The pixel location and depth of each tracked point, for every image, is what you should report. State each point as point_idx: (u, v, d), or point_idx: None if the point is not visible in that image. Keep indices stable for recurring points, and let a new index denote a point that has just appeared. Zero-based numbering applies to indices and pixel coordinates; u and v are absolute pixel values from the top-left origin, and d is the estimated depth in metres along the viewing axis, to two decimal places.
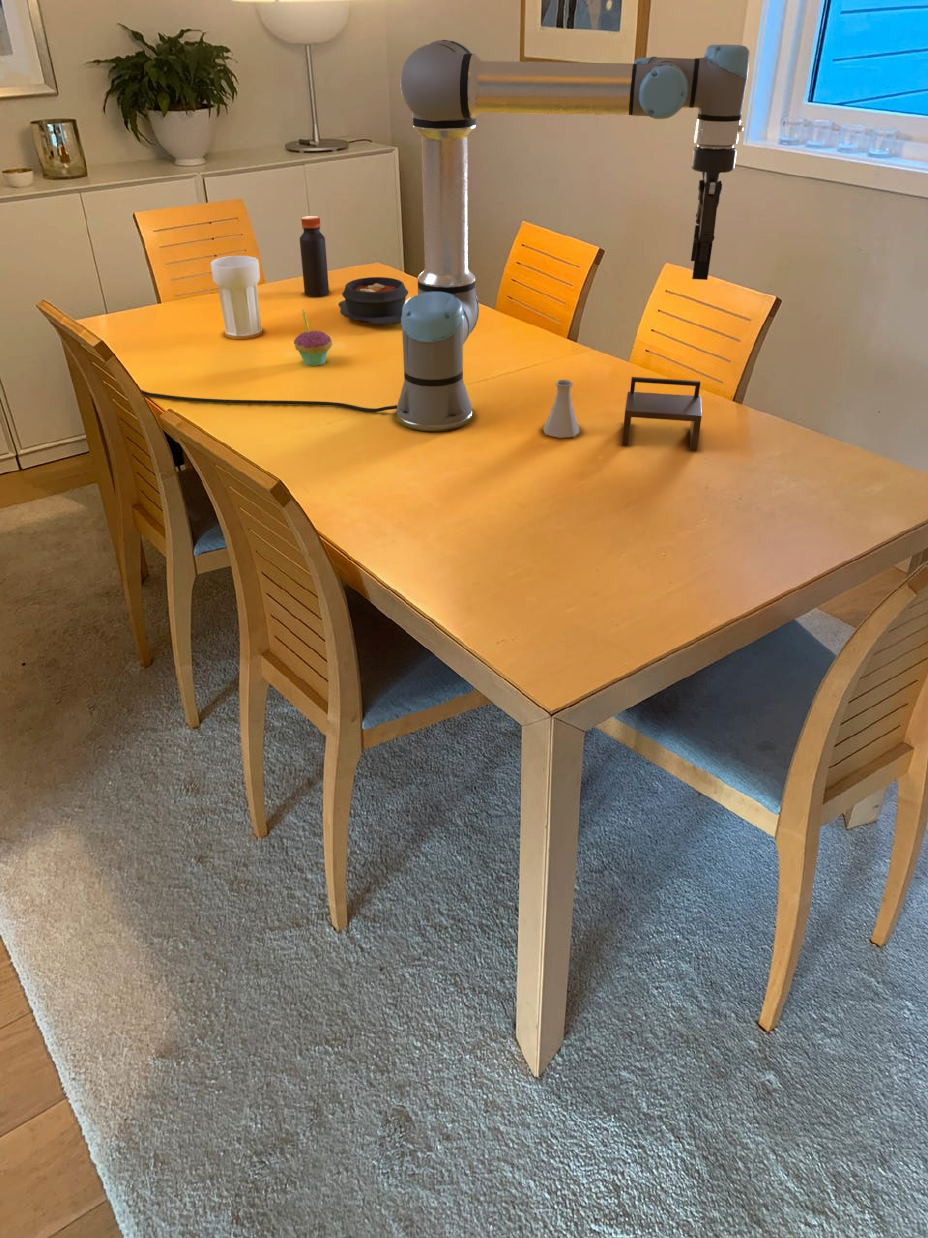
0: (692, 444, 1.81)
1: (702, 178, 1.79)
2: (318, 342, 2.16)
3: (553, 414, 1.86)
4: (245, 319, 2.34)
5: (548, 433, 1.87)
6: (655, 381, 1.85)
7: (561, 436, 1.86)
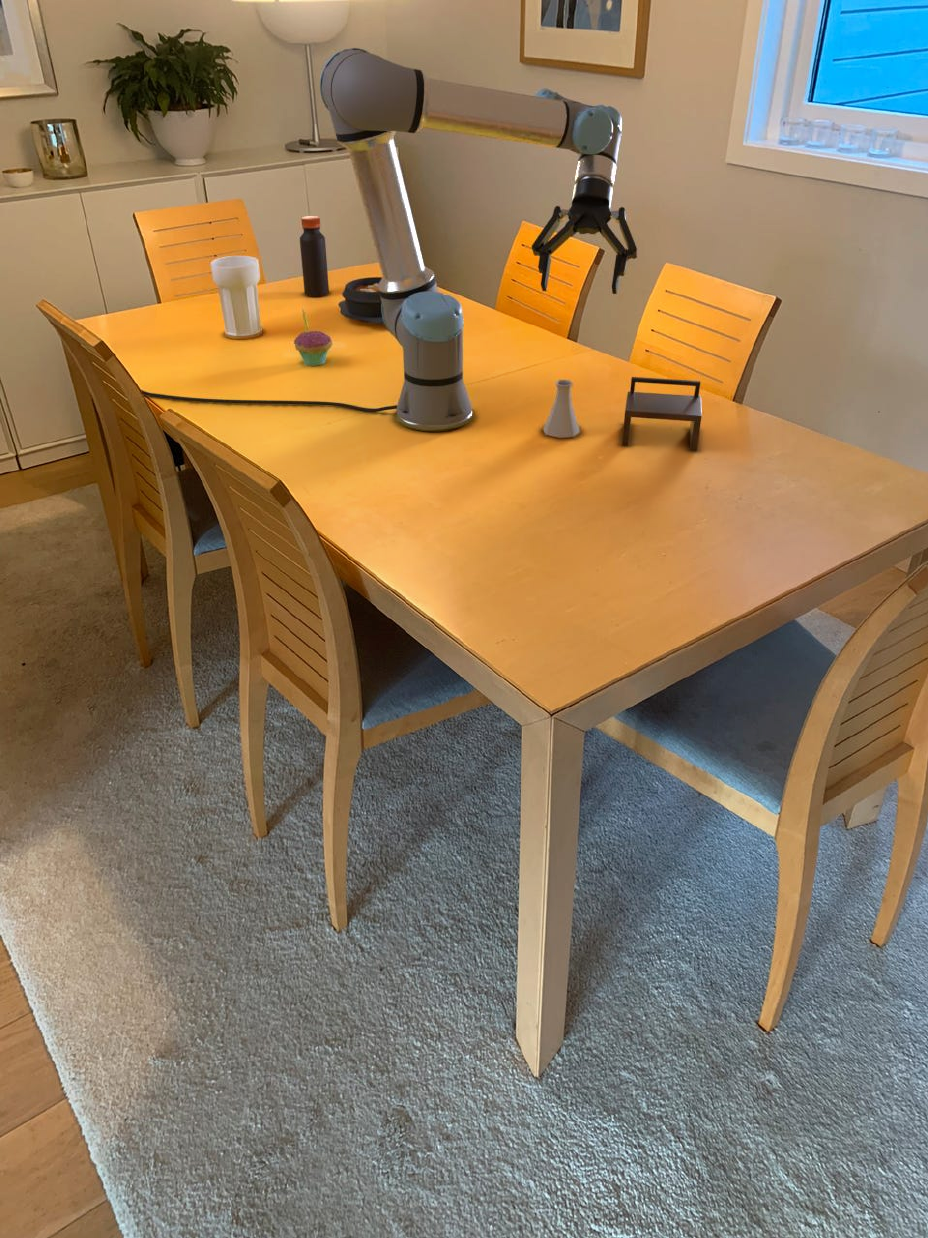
0: (692, 444, 1.81)
1: (556, 212, 1.86)
2: (318, 342, 2.16)
3: (553, 414, 1.86)
4: (245, 319, 2.34)
5: (548, 433, 1.87)
6: (655, 381, 1.85)
7: (561, 436, 1.86)
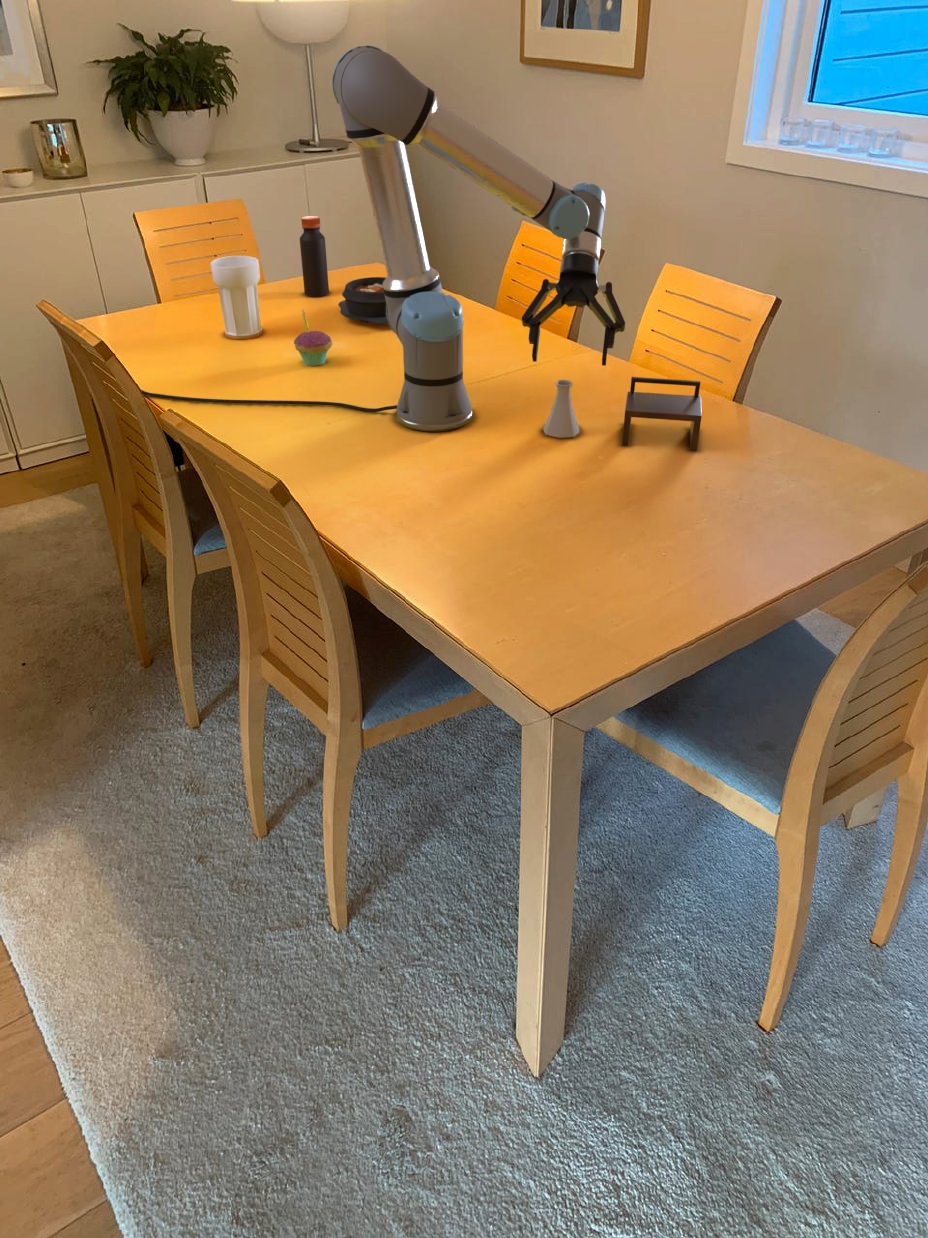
0: (692, 444, 1.81)
1: (545, 285, 1.90)
2: (318, 342, 2.16)
3: (553, 414, 1.86)
4: (245, 319, 2.34)
5: (548, 433, 1.87)
6: (655, 381, 1.85)
7: (561, 436, 1.86)
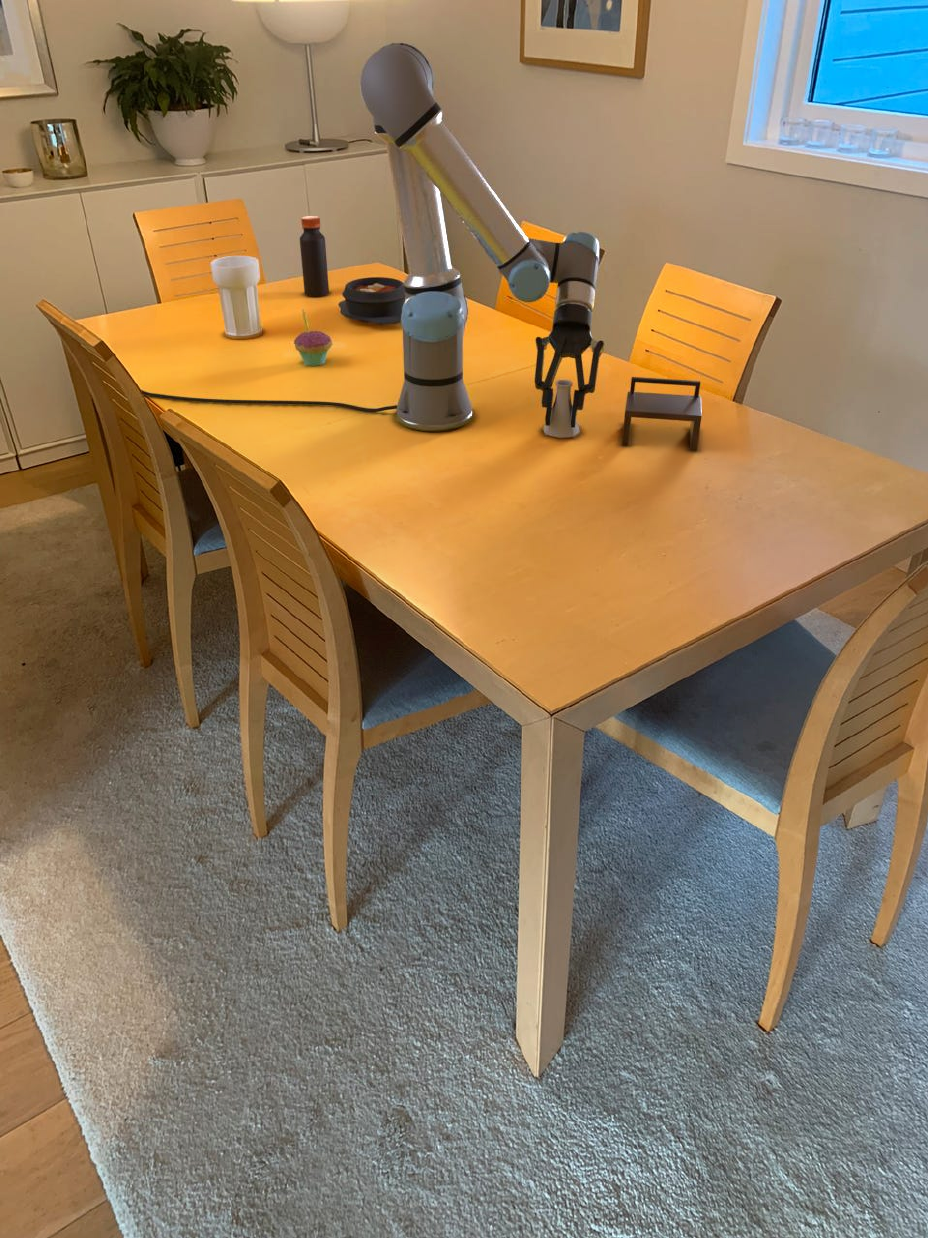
0: (692, 444, 1.81)
1: (540, 343, 1.87)
2: (318, 342, 2.16)
3: (553, 414, 1.86)
4: (245, 319, 2.34)
5: (548, 433, 1.87)
6: (655, 381, 1.85)
7: (561, 436, 1.86)
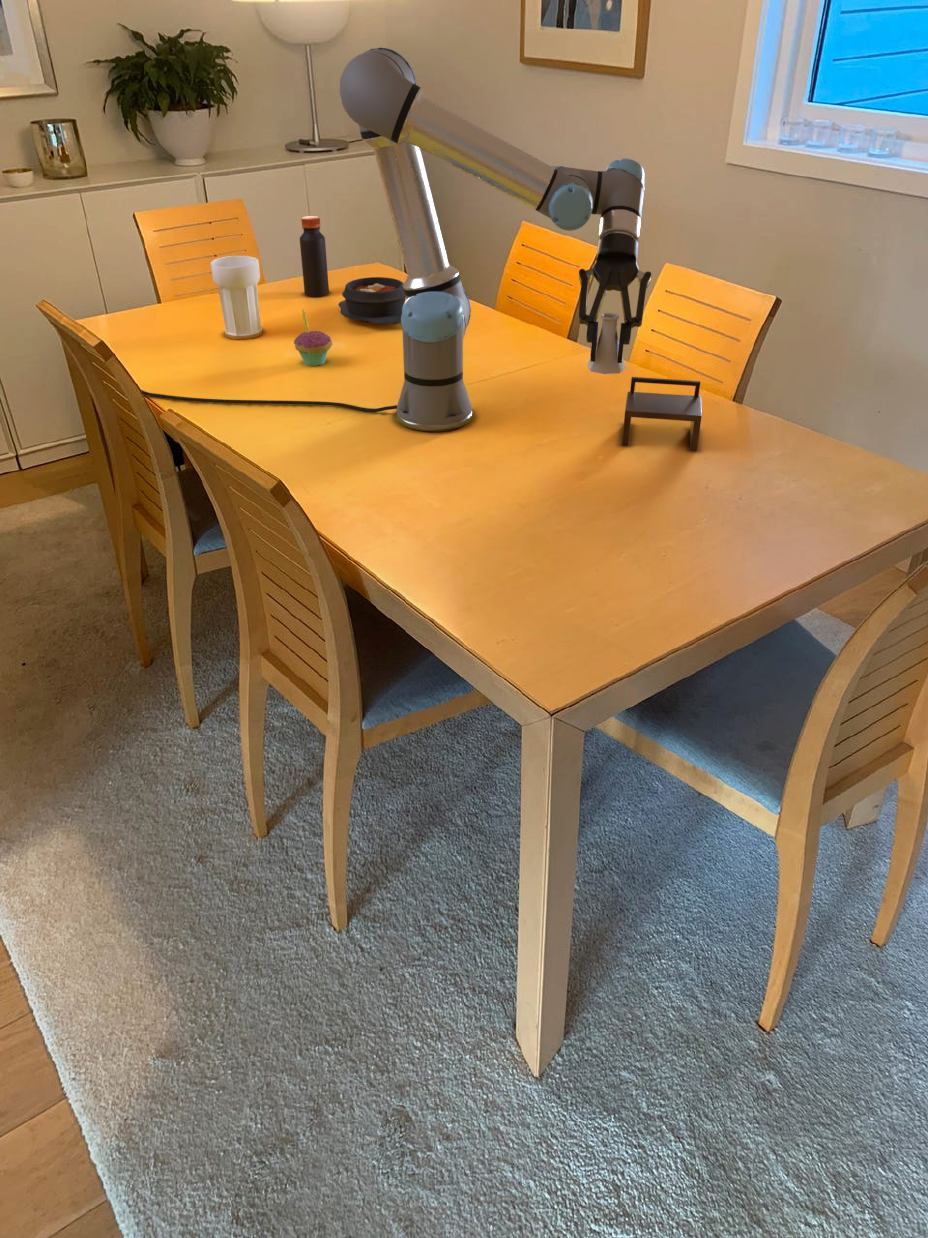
0: (692, 444, 1.81)
1: (584, 275, 1.78)
2: (318, 342, 2.16)
3: (598, 349, 1.77)
4: (245, 319, 2.34)
5: (593, 370, 1.78)
6: (655, 381, 1.85)
7: (607, 372, 1.77)
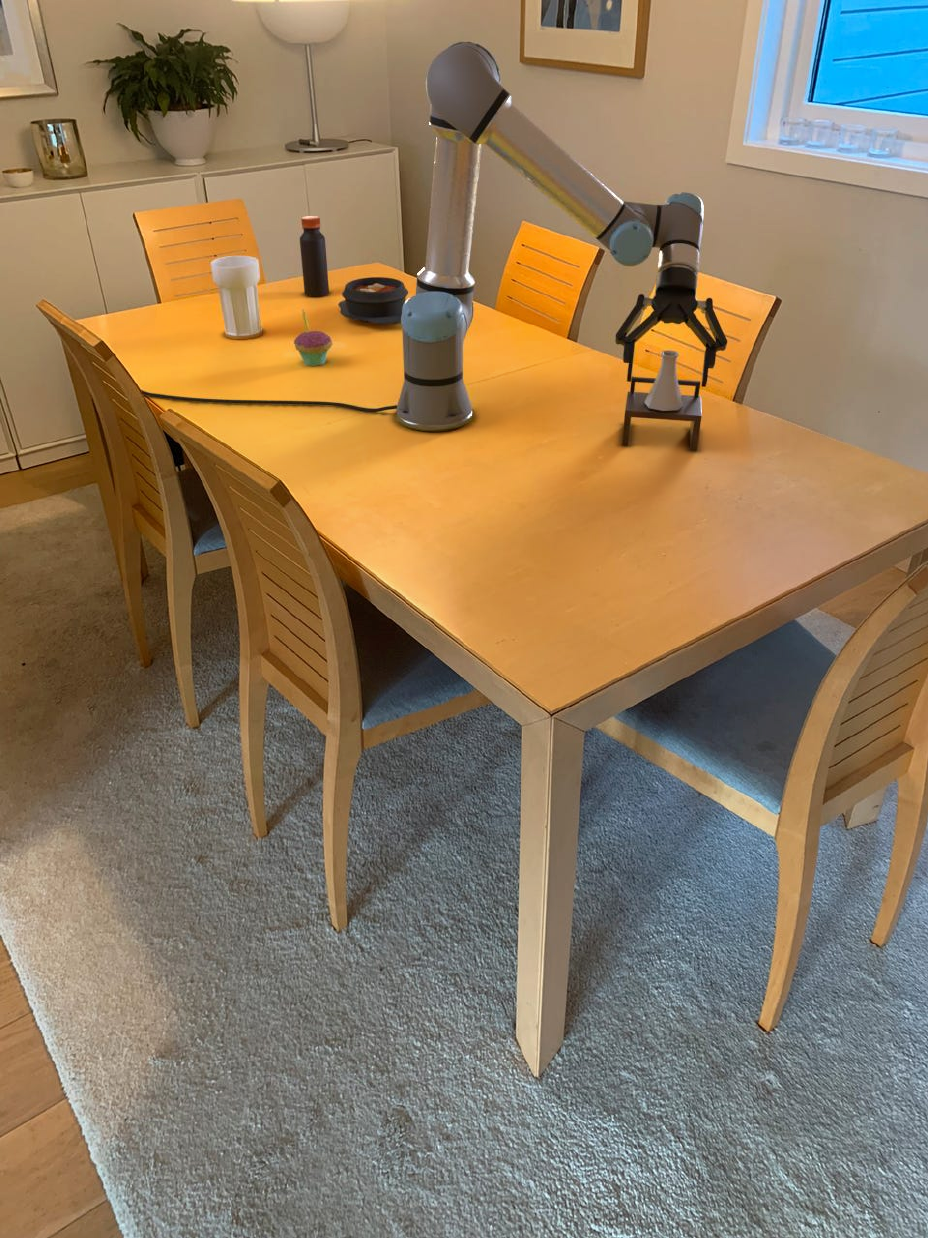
0: (692, 444, 1.81)
1: (640, 301, 1.79)
2: (318, 342, 2.16)
3: (657, 386, 1.78)
4: (245, 319, 2.34)
5: (651, 406, 1.79)
6: None
7: (665, 409, 1.79)
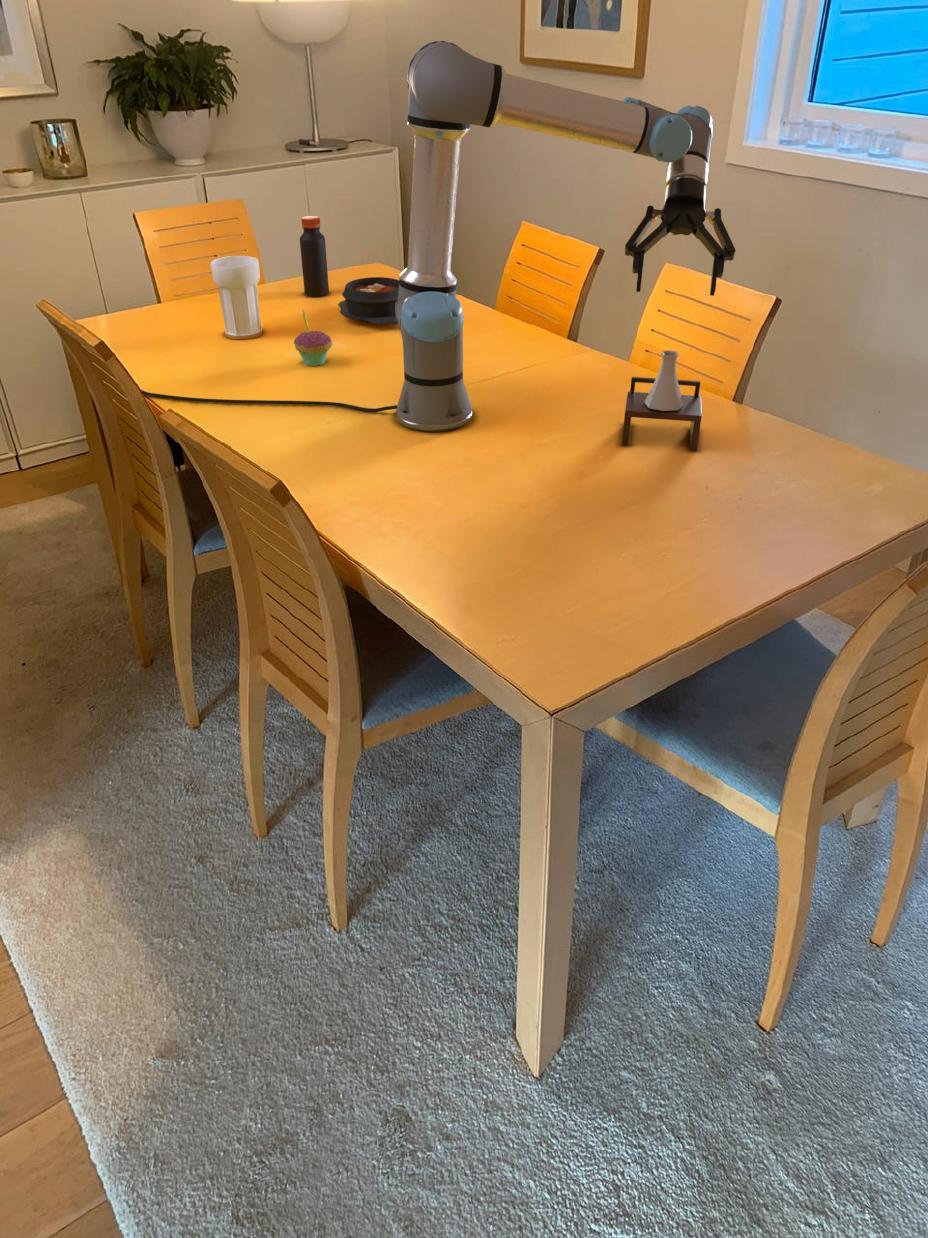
0: (692, 444, 1.81)
1: (650, 212, 1.82)
2: (318, 342, 2.16)
3: (657, 386, 1.78)
4: (245, 319, 2.34)
5: (651, 406, 1.79)
6: None
7: (665, 409, 1.79)
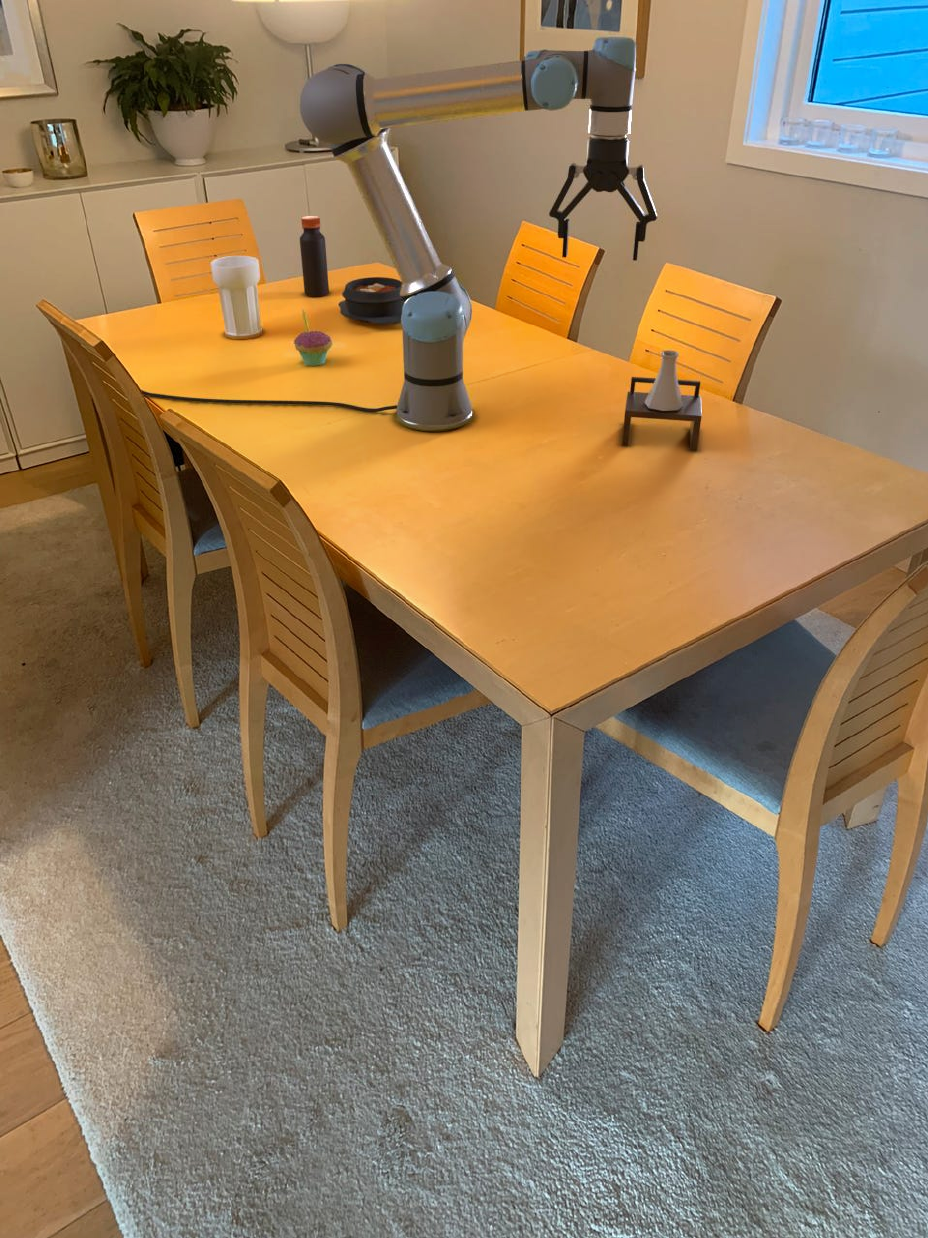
0: (692, 444, 1.81)
1: (572, 174, 1.79)
2: (318, 342, 2.16)
3: (657, 386, 1.78)
4: (245, 319, 2.34)
5: (651, 406, 1.79)
6: None
7: (665, 409, 1.79)
